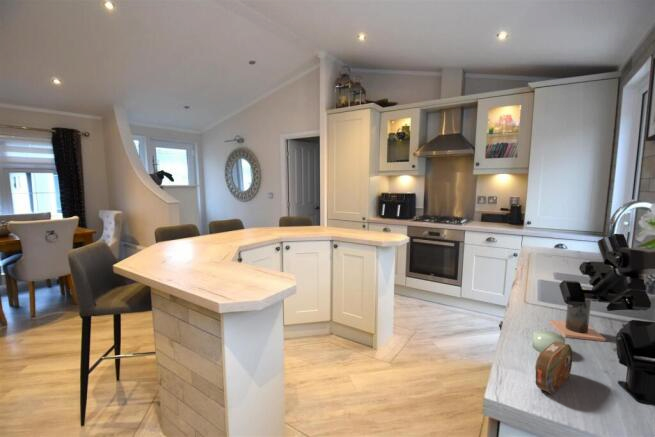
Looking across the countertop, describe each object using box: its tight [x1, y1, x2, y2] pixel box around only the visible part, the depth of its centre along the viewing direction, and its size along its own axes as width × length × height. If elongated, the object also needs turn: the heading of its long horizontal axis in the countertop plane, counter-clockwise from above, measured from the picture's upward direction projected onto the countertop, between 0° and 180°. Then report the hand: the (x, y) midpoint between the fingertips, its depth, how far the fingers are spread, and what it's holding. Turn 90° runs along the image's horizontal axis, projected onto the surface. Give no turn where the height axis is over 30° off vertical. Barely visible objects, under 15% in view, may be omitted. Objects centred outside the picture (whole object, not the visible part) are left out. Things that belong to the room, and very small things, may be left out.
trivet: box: [549, 320, 607, 342], centre depth 96 cm, size 10×10×1 cm
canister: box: [565, 287, 592, 333], centre depth 95 cm, size 5×5×12 cm
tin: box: [534, 342, 573, 395], centre depth 71 cm, size 15×3×8 cm, turn 126°
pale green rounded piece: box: [532, 329, 566, 354], centre depth 85 cm, size 7×7×4 cm
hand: (588, 307), depth 90 cm, fingers open, 9 cm apart
